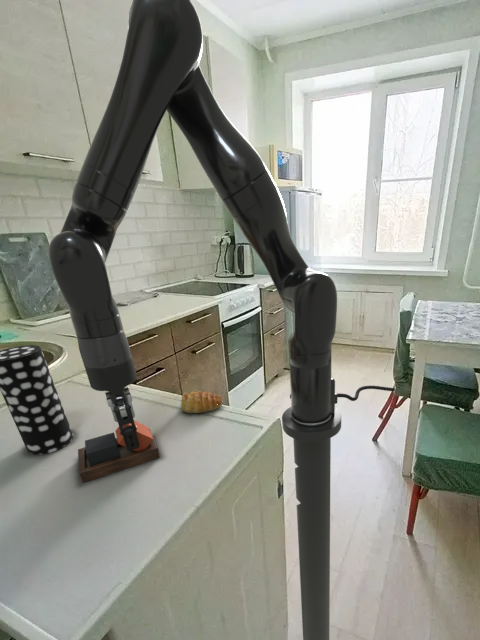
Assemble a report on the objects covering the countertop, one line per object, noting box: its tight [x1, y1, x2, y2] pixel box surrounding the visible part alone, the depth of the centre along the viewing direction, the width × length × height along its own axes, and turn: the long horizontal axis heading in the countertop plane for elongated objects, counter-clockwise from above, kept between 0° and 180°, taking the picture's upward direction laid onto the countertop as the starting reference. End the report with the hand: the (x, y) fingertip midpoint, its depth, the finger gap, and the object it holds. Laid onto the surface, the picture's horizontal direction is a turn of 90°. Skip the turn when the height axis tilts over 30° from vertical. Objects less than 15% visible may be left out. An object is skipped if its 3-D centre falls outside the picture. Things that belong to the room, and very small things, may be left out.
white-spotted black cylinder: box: [0, 344, 74, 456], centre depth 69 cm, size 8×8×20 cm
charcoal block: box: [84, 431, 121, 467], centre depth 65 cm, size 5×5×4 cm
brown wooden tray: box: [77, 427, 161, 484], centre depth 67 cm, size 13×8×2 cm, turn 120°
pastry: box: [180, 390, 223, 414], centre depth 83 cm, size 9×7×4 cm
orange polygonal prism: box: [114, 420, 154, 452], centre depth 67 cm, size 5×5×4 cm
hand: (131, 439), depth 67 cm, fingers open, 6 cm apart
